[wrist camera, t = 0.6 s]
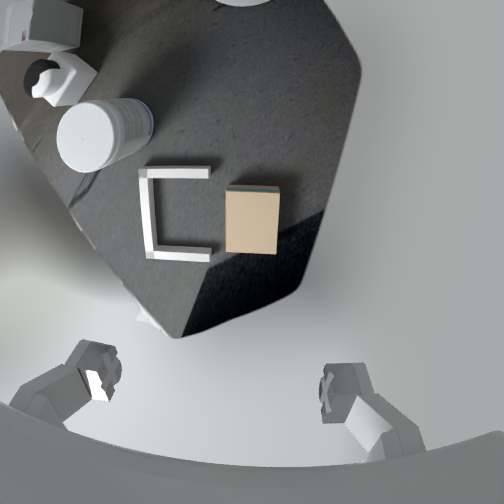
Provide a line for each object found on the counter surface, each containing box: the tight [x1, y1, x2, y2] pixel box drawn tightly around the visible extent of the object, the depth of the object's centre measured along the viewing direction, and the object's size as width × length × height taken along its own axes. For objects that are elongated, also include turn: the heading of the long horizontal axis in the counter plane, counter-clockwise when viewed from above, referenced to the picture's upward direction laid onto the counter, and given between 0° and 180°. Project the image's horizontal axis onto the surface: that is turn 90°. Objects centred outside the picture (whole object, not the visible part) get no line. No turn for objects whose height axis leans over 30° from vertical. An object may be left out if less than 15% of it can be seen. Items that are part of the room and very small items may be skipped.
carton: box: [226, 185, 280, 254], centre depth 50 cm, size 10×8×4 cm
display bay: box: [138, 166, 212, 262], centre depth 51 cm, size 16×12×2 cm
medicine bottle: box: [24, 51, 98, 107], centre depth 36 cm, size 7×7×12 cm
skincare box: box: [1, 0, 84, 53], centre depth 30 cm, size 8×7×16 cm
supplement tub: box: [57, 98, 154, 172], centre depth 39 cm, size 10×10×15 cm
